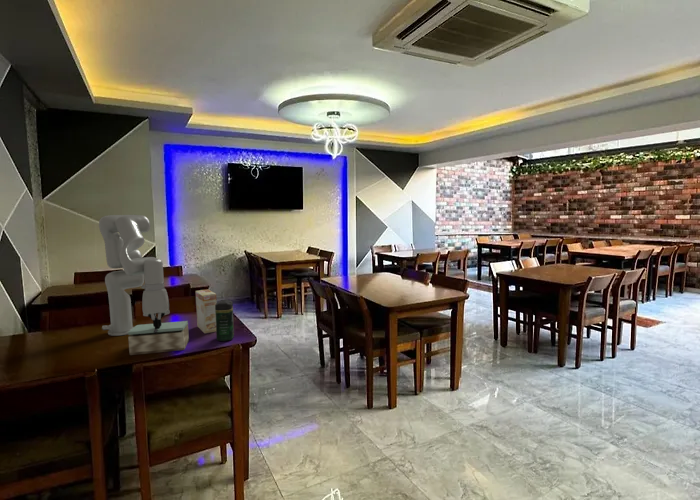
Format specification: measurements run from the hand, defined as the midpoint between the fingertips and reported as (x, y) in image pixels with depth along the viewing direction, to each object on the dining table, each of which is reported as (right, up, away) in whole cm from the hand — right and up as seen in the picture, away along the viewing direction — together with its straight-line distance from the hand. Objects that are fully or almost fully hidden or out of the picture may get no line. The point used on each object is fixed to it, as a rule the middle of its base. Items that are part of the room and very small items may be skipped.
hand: (157, 327), depth 176 cm
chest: (-1, -10, +5) cm, 11 cm away
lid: (-1, -1, +3) cm, 4 cm away
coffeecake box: (+11, -7, +31) cm, 34 cm away
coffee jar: (+25, -8, +15) cm, 31 cm away
